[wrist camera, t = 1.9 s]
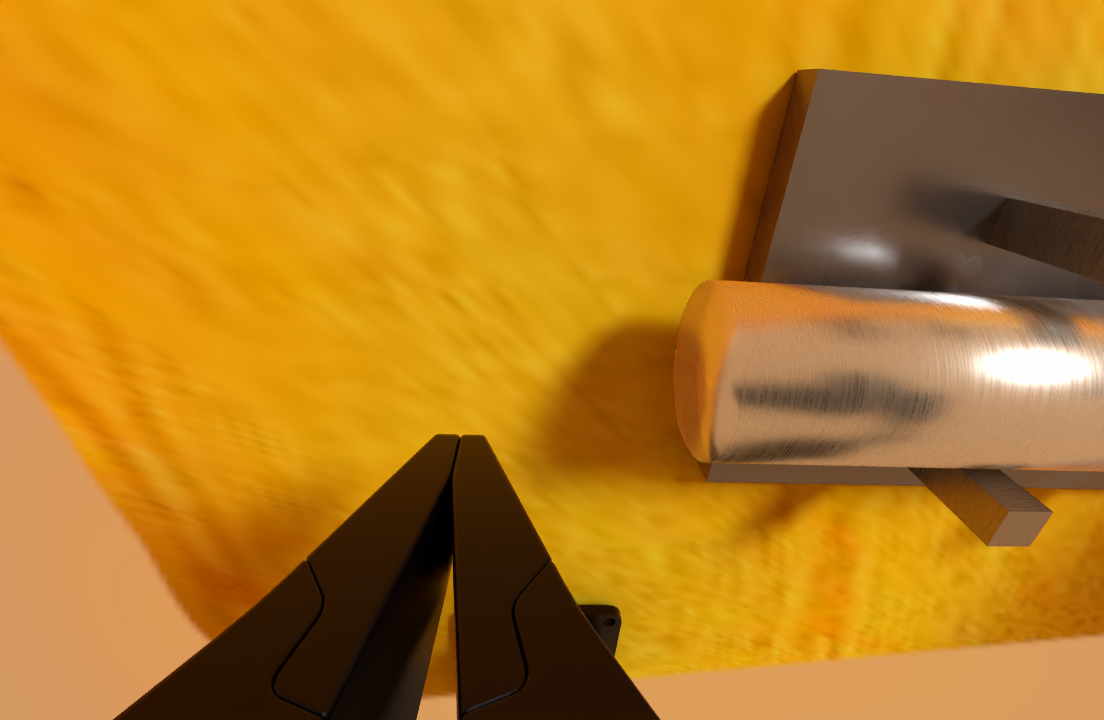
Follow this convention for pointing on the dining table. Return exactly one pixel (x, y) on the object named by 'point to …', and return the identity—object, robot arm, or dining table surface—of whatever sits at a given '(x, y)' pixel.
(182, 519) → the dining table surface
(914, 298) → the tube
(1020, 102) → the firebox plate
